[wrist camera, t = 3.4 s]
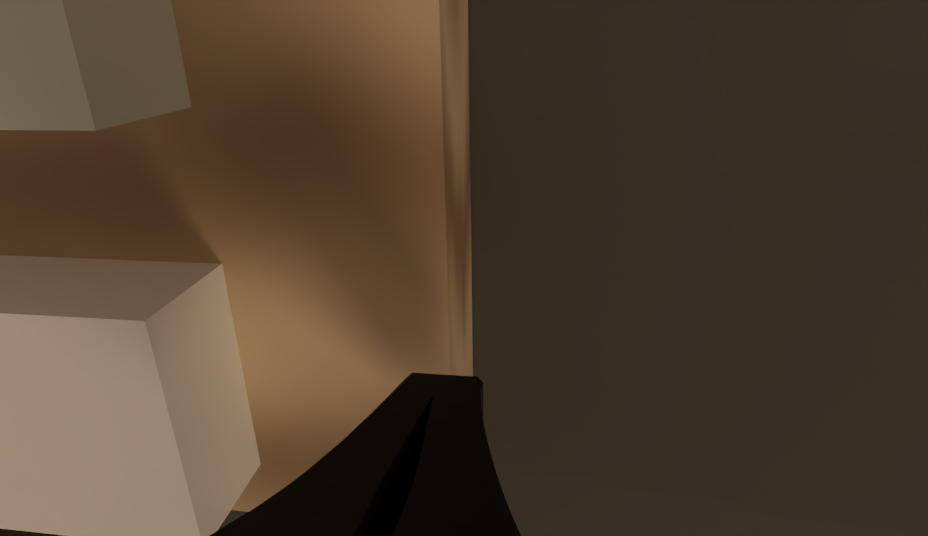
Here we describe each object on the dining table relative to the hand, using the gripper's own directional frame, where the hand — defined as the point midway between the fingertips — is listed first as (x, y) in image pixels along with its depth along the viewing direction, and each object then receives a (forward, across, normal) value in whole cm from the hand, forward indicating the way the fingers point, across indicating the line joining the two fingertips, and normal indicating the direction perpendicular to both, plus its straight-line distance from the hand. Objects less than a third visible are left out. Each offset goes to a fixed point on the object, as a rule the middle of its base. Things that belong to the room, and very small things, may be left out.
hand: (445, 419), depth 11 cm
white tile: (+1, +7, 0) cm, 7 cm away
